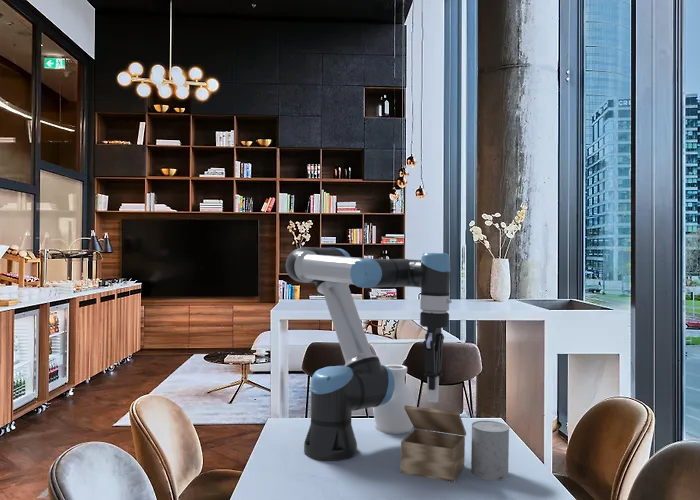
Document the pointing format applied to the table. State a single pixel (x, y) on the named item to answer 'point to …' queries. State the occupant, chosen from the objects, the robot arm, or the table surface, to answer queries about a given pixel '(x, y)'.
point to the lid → (435, 420)
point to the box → (433, 455)
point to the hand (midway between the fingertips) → (432, 401)
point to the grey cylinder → (490, 450)
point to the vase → (395, 405)
